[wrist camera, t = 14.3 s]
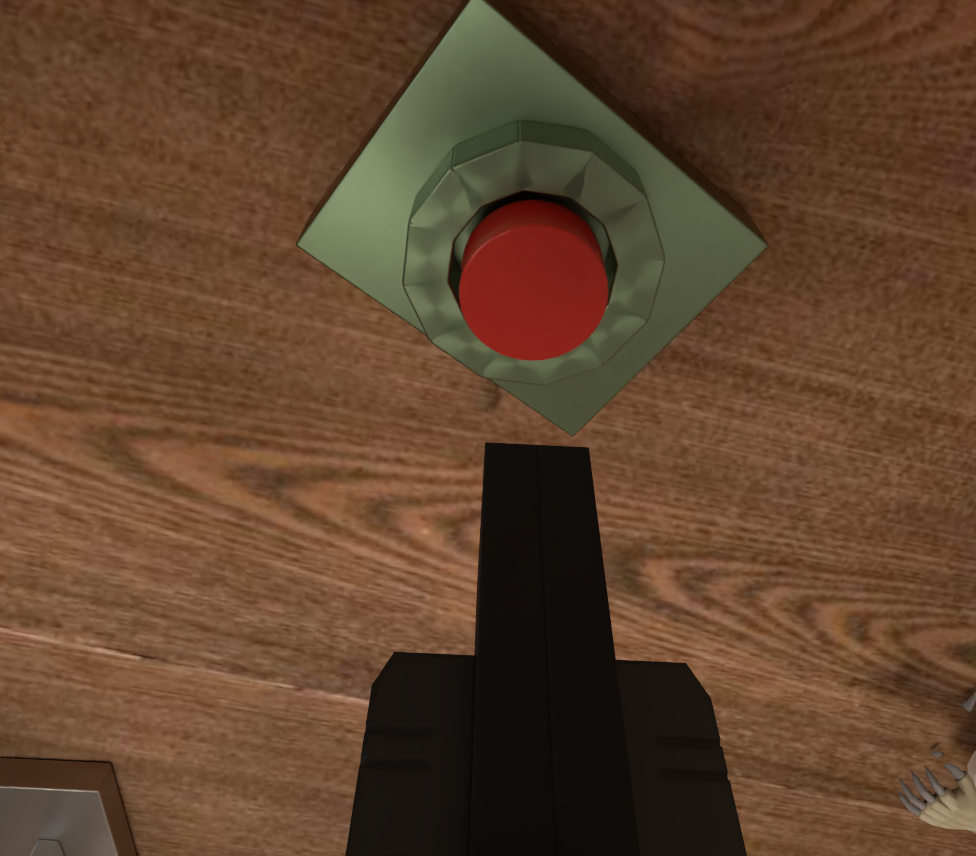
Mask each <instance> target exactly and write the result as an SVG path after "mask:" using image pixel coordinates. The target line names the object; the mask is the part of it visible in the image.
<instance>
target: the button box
mask: <svg viewBox="0 0 976 856" xmlns="http://www.w3.org/2000/svg"><path fill="white" fill-rule="evenodd" d="M523 200H545V201H549V202H554V203H557V204H560V205H563V206H565V207H567V208H569V209H570V210H572V211H574V212H575V213H576V214H578V215H579V216H580V217H581V218H582V219H584V220H585V221H586V222H587V224H588V225H589V226H590V227H591V229H592V230H593V232H594V234H595V235H596V237H597V239H598V242H599V244H600V248H601V252H602V256H603V261H604V265H605V270H606V274H607V279H608V301H607V306H606V310H605V313H604V315H603V317H602V320H601V322H600V323H599V325H598V326H597V328H596V330H595V331H594V332H593V333H592V334H591V335H590V337H589V338H588V339H586V340H585V341H584V342H583V343H582V344H581V345H579V346H578V347H576V348H575V349H573V350H571V351H569V352H568V353H565V354H563V355H561V356H558V357H554V358H551V359H545V360H533V361H530V360H520V359H515V358H511V357H508V356H504V355H502V354H500V353H498V352H496V351H494V350H492V349H491V348H489V347H488V346H486V345H485V344H484V343H483V342H481V341H480V340H479V339H478V338H477V337H476V336H475V335H474V333H473V332H472V331H471V329H470V328H469V326H468V324H467V323H466V321H465V319H464V316H463V313H462V310H461V306H460V300H459V287H460V277H461V267H462V258H463V253H464V249H465V246H466V243H467V241H468V239H469V237H470V235H471V233H472V232H473V231H474V229H475V228H476V226H477V225H478V224H479V223H480V222H481V221H482V220H483V219H484V218H485V217H486V216H488V215H489V214H490V213H492V212H493V211H495V210H497V209H498V208H500V207H503V206H505V205H507V204H510V203H514V202H517V201H523ZM296 245H297V246H298V247H299V248H300V249H302V250H303V251H305V252H306V253H308V254H309V255H311V256H312V257H313V258H315V259H316V260H318V261H319V262H321V263H322V264H324V265H325V266H326V267H328V268H329V269H331V270H332V271H334V272H335V273H337V274H338V275H340V276H341V277H342V278H344V279H345V280H347V281H348V282H350V283H351V284H353V285H354V286H355V287H357V288H358V289H360V290H361V291H363V292H364V293H366V294H367V295H368V296H370V297H371V298H373V299H374V300H376V301H377V302H379V303H380V304H381V305H383V306H384V307H386V308H387V309H389V310H390V311H392V312H393V313H394V314H396V315H397V316H399V317H400V318H402V319H403V320H405V321H406V322H407V323H409V324H410V325H412V326H413V327H415V328H416V329H418V330H419V331H421V332H422V333H423V334H425V335H426V336H427V338H428V339H429V340H430V341H431V343H432V344H434V345H435V346H437V347H438V348H439V349H441V350H442V351H444V352H445V353H447V354H448V355H450V356H451V357H453V358H454V359H455V360H457V361H458V362H460V363H461V364H463V365H464V366H466V367H467V368H468V369H470V370H471V371H473V372H474V373H476V374H477V375H479V376H481V377H483V378H488V379H490V380H491V381H493V382H494V383H496V384H497V385H499V386H500V387H501V388H503V389H504V390H506V391H507V392H509V393H510V394H512V395H513V396H515V397H516V398H517V399H519V400H520V401H522V402H523V403H525V404H526V405H528V406H529V407H530V408H532V409H533V410H535V411H536V412H538V413H539V414H541V415H542V416H543V417H545V418H546V419H548V420H549V421H551V422H552V423H554V424H555V425H556V426H558V427H559V428H561V429H562V430H564V431H565V432H567V433H568V434H569V435H571V436H574V435H575V434H576V433H577V432H578V431H579V430H580V429H581V428H582V427H584V426H585V425H586V424H587V423H588V422H589V421H590V420H591V419H592V418H593V417H594V416H595V415H596V414H597V413H598V412H599V411H600V410H601V409H602V408H603V407H604V406H605V405H606V404H607V403H608V402H609V401H610V400H611V399H612V398H613V397H614V396H615V395H616V394H617V393H618V392H619V391H620V390H621V389H622V388H623V387H625V386H626V385H627V384H628V383H629V382H630V381H631V380H632V379H633V378H634V377H635V376H636V375H637V374H638V373H639V372H640V371H641V370H642V369H643V368H644V367H645V366H646V365H647V364H648V363H649V362H650V361H651V360H652V359H653V358H654V357H655V356H656V355H657V354H658V353H659V352H660V351H661V350H662V349H663V348H665V347H666V346H667V345H668V344H669V343H670V342H671V341H672V340H673V339H674V338H675V337H676V336H677V335H678V334H679V333H680V332H681V331H682V330H683V329H684V328H685V327H686V326H687V325H688V324H689V323H690V322H691V321H692V320H693V319H694V318H695V317H696V316H697V315H698V314H699V313H700V312H701V311H702V310H703V309H705V308H706V307H707V306H708V305H709V304H710V303H711V302H712V301H713V300H714V299H715V298H716V297H717V296H718V295H719V294H720V293H721V292H722V291H723V290H724V289H725V288H726V287H727V286H728V285H729V284H730V283H731V282H732V281H733V280H734V279H735V278H736V277H737V276H738V275H739V274H740V273H741V272H742V271H743V270H745V269H746V268H747V267H748V266H749V265H750V264H751V263H752V262H753V261H754V260H755V259H756V258H757V257H758V256H759V255H760V254H761V253H762V252H763V251H764V250H765V249H766V248H767V247H768V243H767V242H766V240H765V238H764V237H763V235H762V234H761V232H760V230H759V229H758V227H757V225H756V224H755V222H754V221H753V219H752V217H751V216H750V215H749V214H748V213H747V212H745V211H744V210H743V209H742V208H741V207H740V206H739V205H737V204H736V203H735V202H734V201H733V200H732V199H731V198H729V197H728V196H727V195H726V194H725V193H724V192H722V191H721V190H720V189H719V188H718V187H717V186H716V185H714V184H713V183H712V182H711V181H710V180H709V179H708V178H706V177H705V176H704V175H703V174H702V173H701V172H700V171H698V170H697V169H696V168H695V167H694V166H693V165H691V164H690V163H689V162H688V161H687V160H686V159H685V158H683V157H682V156H681V155H680V154H679V153H678V152H677V151H675V150H674V149H673V148H672V147H671V146H670V145H669V144H667V143H666V142H665V141H664V140H663V139H662V138H661V137H659V136H658V135H657V134H656V133H655V132H654V131H652V130H651V129H650V128H649V127H648V126H647V125H646V124H644V123H643V122H642V121H641V120H640V119H639V118H638V117H636V116H635V115H634V114H633V113H632V112H631V111H630V110H628V109H627V108H626V107H625V106H624V105H623V104H621V103H620V102H619V101H618V100H617V99H616V98H615V97H613V96H612V95H611V94H610V93H609V92H608V91H607V90H605V89H604V88H603V87H602V86H601V85H600V84H599V83H597V82H596V81H595V80H594V79H593V78H592V77H591V76H589V75H588V74H587V73H586V72H585V71H584V70H582V69H581V68H580V67H579V66H578V65H577V64H576V63H574V62H573V61H572V60H571V59H570V58H569V57H568V56H566V55H565V54H564V53H563V52H562V51H561V50H560V49H558V48H557V47H556V46H555V45H554V44H553V43H551V42H550V41H549V40H548V39H547V38H546V37H545V36H543V35H542V34H541V33H540V32H539V31H538V30H537V29H535V28H534V27H533V26H532V25H531V24H530V23H529V22H527V21H526V20H525V19H524V18H523V17H522V16H521V15H519V14H518V13H517V12H516V11H515V10H514V9H512V8H511V7H510V6H509V5H508V4H507V3H506V2H504V1H503V0H463V1H462V2H461V4H460V5H459V6H458V8H457V9H456V11H455V12H454V13H453V15H452V16H451V18H450V19H449V20H448V22H447V23H446V25H445V26H444V28H443V29H442V30H441V32H440V33H439V35H438V36H437V37H436V39H435V40H434V42H433V43H432V44H431V46H430V47H429V49H428V50H427V52H426V53H425V54H424V56H423V57H422V59H421V60H420V61H419V63H418V64H417V66H416V67H415V68H414V70H413V71H412V73H411V74H410V76H409V77H408V78H407V80H406V81H405V83H404V84H403V85H402V87H401V88H400V90H399V91H398V92H397V94H396V95H395V97H394V98H393V100H392V101H391V102H390V104H389V105H388V107H387V108H386V109H385V111H384V112H383V114H382V115H381V116H380V118H379V119H378V121H377V122H376V124H375V125H374V126H373V128H372V129H371V131H370V132H369V133H368V135H367V136H366V138H365V139H364V140H363V142H362V143H361V145H360V146H359V148H358V149H357V150H356V152H355V153H354V155H353V156H352V157H351V159H350V160H349V162H348V163H347V164H346V166H345V167H344V169H343V170H342V172H341V173H340V174H339V176H338V177H337V179H336V180H335V181H334V183H333V184H332V186H331V187H330V188H329V190H328V191H327V193H326V194H325V196H324V197H323V198H322V200H321V201H320V203H319V204H318V205H317V207H316V208H315V210H314V211H313V212H312V214H311V215H310V217H309V219H308V221H307V223H306V225H305V227H304V229H303V231H302V233H301V235H300V237H299V239H298V241H297V243H296Z"/></svg>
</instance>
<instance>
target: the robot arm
mask: <svg viewBox="0 0 976 856" xmlns="http://www.w3.org/2000/svg"><path fill="white" fill-rule="evenodd" d="M727 773H728V771H727V767H726V762H725V758H724V754H723V749H722V747H720V736H719V732H718V727H717V723H716V719H715V714H714V710H713V705H712V701H711V698H710V697H709V695H708V694H707V692H706V691H705V689H704V688H703V687H702V685H701V684H700V682H699V681H698V680H697V678H696V677H695V675H694V674H693V673H692V671H691V670H690V668H689V667H688V665H687V664H686V663H672V662H651V661H629V660H616V659H615V651H614V643H613V635H612V627H611V619H610V611H609V604H608V596H607V588H606V580H605V572H604V564H603V556H602V549H601V541H600V533H599V525H598V517H597V509H596V501H595V494H594V486H593V478H592V470H591V462H590V454H589V448H587V447H567V446H547V445H527V444H507V443H487V442H485V456H484V474H483V492H482V509H481V527H480V544H479V562H478V580H477V605H476V630H475V655H474V656H472V655H451V654H430V653H408V652H394V653H393V655H392V656H391V658H390V659H389V661H388V662H387V664H386V665H385V667H384V668H383V670H382V671H381V673H380V674H379V676H378V677H377V679H376V680H375V682H374V683H373V684H372V689H371V695H370V701H369V708H368V714H367V721H366V731H365V734H364V740H363V746H362V753H361V763H360V766H359V772H358V779H357V785H356V791H355V798H354V804H353V811H352V817H351V824H350V830H349V837H348V843H347V849H346V856H747V854H746V850H745V845H744V841H743V836H742V832H741V828H740V823H739V819H738V815H737V810H736V806H735V802H734V797H733V793H732V788H731V784H730V780H728V778H727Z"/></svg>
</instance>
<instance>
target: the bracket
mask: <svg viewBox="0 0 976 856" xmlns="http://www.w3.org/2000/svg"><path fill="white" fill-rule="evenodd" d="M0 856H137V854H136V851H135V847H134V844H133V840H132V837H131V833H130V830H129V826H128V823H127V819H126V816H125V812H124V809H123V805H122V802H121V798H120V795H119V791H118V788H117V784H116V781H115V777H114V774H113V770H112V767H111V764H110V763H100V762H79V761H58V760H38V759H17V758H0Z"/></svg>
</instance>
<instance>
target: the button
mask: <svg viewBox="0 0 976 856" xmlns="http://www.w3.org/2000/svg"><path fill="white" fill-rule="evenodd" d="M459 300H460V306H461V310H462V313H463V316H464V319H465V321H466V323H467V324H468V326H469V328H470V329H471V331H472V332H473V333H474V335H475V336H476V337H477V338H478V339H479V340H480V341H481V342H483V343H484V344H485V345H486V346H488V347H489V348H491V349H492V350H494V351H496V352H498V353H500V354H502V355H504V356H508V357H511V358H515V359H520V360H530V361H533V360H545V359H551V358H554V357H558V356H561V355H563V354H565V353H568V352H569V351H571V350H573V349H575V348H576V347H578V346H579V345H581V344H582V343H583V342H584V341H585V340H586V339H588V338H589V337H590V335H591V334H592V333H593V332H594V331H595V330H596V328H597V326H598V325H599V323H600V322H601V320H602V317H603V315H604V313H605V310H606V306H607V301H608V279H607V274H606V270H605V265H604V261H603V256H602V252H601V248H600V244H599V242H598V239H597V237H596V235H595V234H594V232H593V230H592V229H591V227H590V226H589V225H588V224H587V222H586V221H585V220H584V219H582V218H581V217H580V216H579V215H578V214H576V213H575V212H574V211H572V210H570V209H569V208H567V207H565V206H563V205H560V204H557V203H554V202H549V201H545V200H523V201H517V202H514V203H510V204H507V205H505V206H503V207H500V208H498V209H497V210H495V211H493V212H492V213H490V214H489V215H488V216H486V217H485V218H484V219H483V220H482V221H481V222H480V223H479V224H478V225H477V226H476V228H475V229H474V231H473V232H472V233H471V235H470V237H469V239H468V241H467V243H466V246H465V249H464V253H463V258H462V267H461V277H460V287H459Z"/></svg>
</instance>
